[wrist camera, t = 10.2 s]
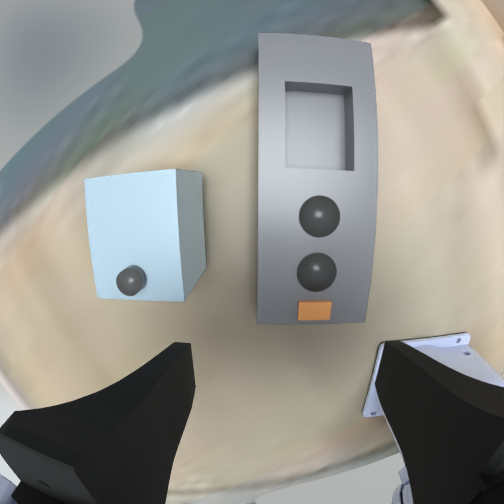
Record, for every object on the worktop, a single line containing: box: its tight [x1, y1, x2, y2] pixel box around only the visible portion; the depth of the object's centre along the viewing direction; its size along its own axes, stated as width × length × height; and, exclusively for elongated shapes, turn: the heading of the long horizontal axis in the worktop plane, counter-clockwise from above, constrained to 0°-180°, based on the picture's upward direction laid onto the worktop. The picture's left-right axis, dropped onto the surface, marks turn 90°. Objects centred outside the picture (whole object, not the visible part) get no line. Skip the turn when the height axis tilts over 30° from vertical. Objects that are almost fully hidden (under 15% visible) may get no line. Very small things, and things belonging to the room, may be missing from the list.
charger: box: [85, 169, 206, 302], centre depth 16 cm, size 5×6×8 cm
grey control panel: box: [257, 33, 378, 324], centre depth 17 cm, size 7×18×3 cm, turn 0°
